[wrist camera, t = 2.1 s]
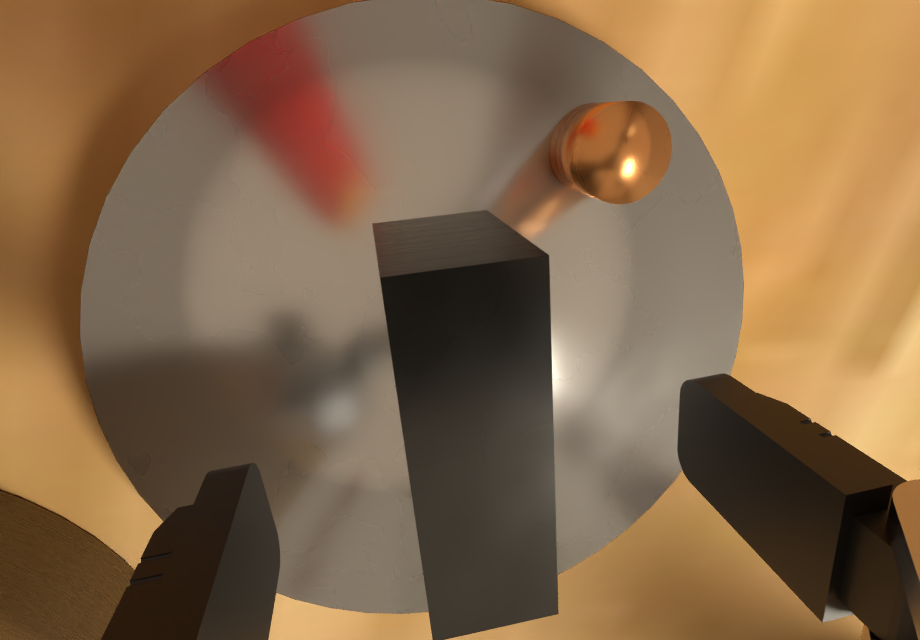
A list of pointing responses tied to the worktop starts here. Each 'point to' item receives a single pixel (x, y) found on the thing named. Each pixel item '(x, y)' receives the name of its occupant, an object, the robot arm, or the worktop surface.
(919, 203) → the worktop surface
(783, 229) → the worktop surface
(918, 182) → the worktop surface
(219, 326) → the lid
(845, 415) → the worktop surface
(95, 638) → the pot
